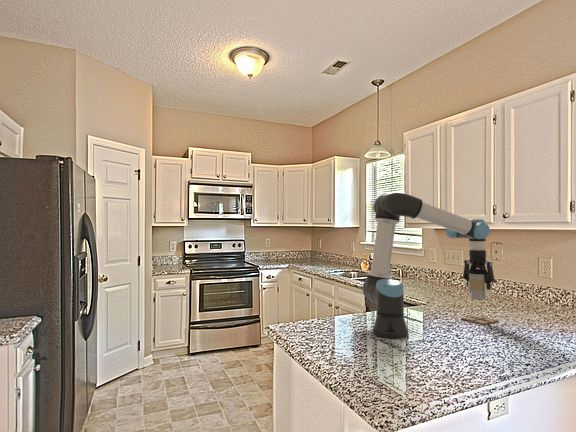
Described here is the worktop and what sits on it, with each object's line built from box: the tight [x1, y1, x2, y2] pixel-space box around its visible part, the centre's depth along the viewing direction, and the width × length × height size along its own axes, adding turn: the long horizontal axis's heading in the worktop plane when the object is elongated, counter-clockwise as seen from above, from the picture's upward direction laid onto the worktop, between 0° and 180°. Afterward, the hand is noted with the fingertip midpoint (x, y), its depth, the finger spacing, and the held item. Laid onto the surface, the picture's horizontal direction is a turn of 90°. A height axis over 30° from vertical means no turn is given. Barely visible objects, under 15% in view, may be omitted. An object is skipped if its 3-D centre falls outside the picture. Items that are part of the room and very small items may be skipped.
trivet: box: [460, 314, 499, 326], centre depth 177 cm, size 12×12×1 cm
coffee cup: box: [468, 268, 488, 301], centre depth 178 cm, size 9×9×15 cm
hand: (478, 294), depth 178 cm, fingers closed on coffee cup, 8 cm apart
